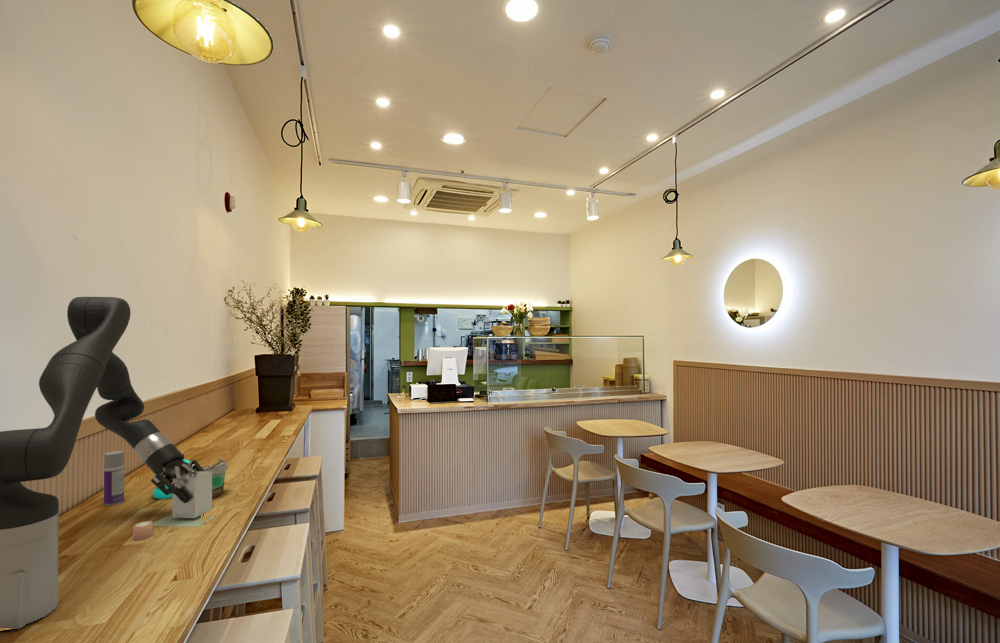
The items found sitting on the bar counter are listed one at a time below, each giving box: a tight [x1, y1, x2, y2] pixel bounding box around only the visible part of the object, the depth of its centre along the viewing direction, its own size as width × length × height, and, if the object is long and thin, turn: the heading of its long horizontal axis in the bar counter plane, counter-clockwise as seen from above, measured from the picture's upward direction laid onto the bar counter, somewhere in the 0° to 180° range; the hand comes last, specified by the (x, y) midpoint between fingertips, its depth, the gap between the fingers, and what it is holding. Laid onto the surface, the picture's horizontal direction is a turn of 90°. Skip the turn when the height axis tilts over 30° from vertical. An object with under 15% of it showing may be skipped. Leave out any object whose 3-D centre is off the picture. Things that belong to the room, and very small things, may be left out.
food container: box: [202, 459, 229, 500], centre depth 140 cm, size 12×6×10 cm, turn 168°
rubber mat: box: [153, 505, 235, 528], centre depth 126 cm, size 14×14×1 cm
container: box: [103, 450, 125, 507], centre depth 137 cm, size 5×5×15 cm
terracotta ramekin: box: [132, 520, 154, 541], centre depth 113 cm, size 4×4×4 cm
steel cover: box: [171, 470, 213, 518], centre depth 126 cm, size 6×6×12 cm
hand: (198, 496), depth 125 cm, fingers closed on steel cover, 6 cm apart
